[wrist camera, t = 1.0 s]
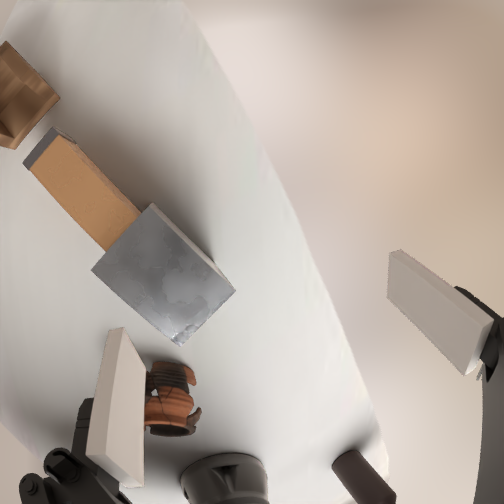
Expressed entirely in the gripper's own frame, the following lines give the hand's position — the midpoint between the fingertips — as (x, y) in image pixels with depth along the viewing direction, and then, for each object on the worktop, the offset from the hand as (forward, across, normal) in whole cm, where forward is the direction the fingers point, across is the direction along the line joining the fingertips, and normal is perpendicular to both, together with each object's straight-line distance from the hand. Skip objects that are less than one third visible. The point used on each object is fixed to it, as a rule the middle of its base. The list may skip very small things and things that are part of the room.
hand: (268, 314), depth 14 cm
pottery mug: (+17, +14, +21) cm, 30 cm away
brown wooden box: (+24, +20, -17) cm, 35 cm away
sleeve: (+21, +7, +4) cm, 23 cm away
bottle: (+13, -12, +56) cm, 59 cm away
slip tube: (+19, +10, -2) cm, 22 cm away
